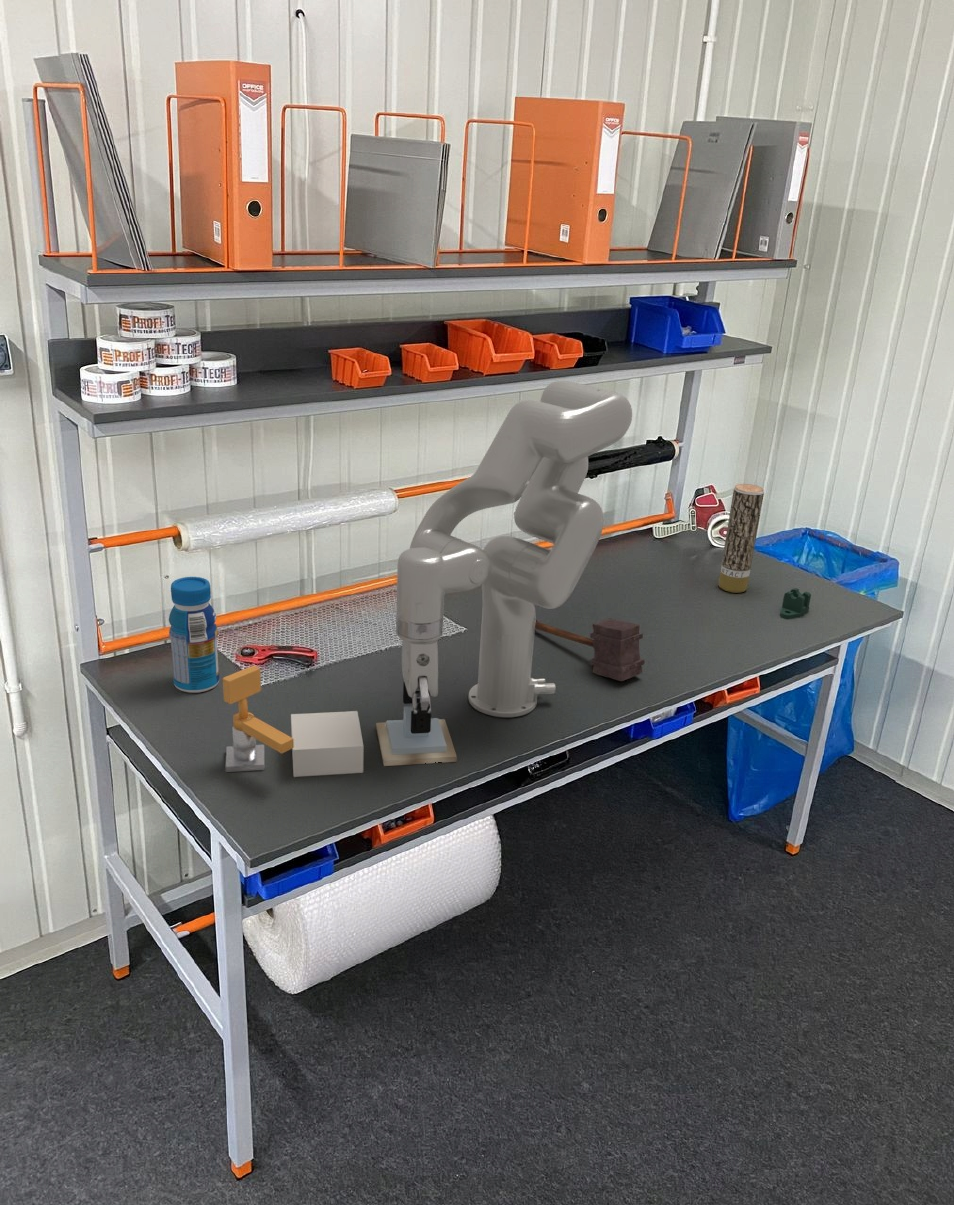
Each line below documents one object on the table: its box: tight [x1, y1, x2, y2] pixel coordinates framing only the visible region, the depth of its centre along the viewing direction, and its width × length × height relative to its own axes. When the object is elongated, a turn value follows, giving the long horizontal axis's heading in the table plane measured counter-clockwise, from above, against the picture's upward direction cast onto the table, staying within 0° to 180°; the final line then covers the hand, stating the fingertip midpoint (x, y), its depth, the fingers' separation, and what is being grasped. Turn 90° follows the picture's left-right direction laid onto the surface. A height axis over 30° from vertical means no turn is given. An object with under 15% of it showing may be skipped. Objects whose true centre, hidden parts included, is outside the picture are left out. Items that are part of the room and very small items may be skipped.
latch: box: [222, 664, 294, 755], centre depth 157 cm, size 12×6×9 cm, turn 50°
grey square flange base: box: [225, 724, 265, 773], centre depth 163 cm, size 6×6×6 cm
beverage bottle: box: [168, 576, 220, 694], centre depth 183 cm, size 8×8×20 cm
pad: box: [375, 718, 458, 767], centre depth 171 cm, size 12×12×1 cm
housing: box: [290, 710, 364, 778], centre depth 166 cm, size 11×11×5 cm
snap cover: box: [385, 705, 447, 755], centre depth 170 cm, size 9×9×6 cm
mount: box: [779, 587, 812, 620], centre depth 231 cm, size 11×4×5 cm, turn 137°
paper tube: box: [718, 483, 765, 594], centre depth 238 cm, size 7×7×25 cm
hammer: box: [535, 618, 645, 682], centre depth 206 cm, size 7×33×10 cm, turn 40°
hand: (416, 717), depth 169 cm, fingers open, 9 cm apart
